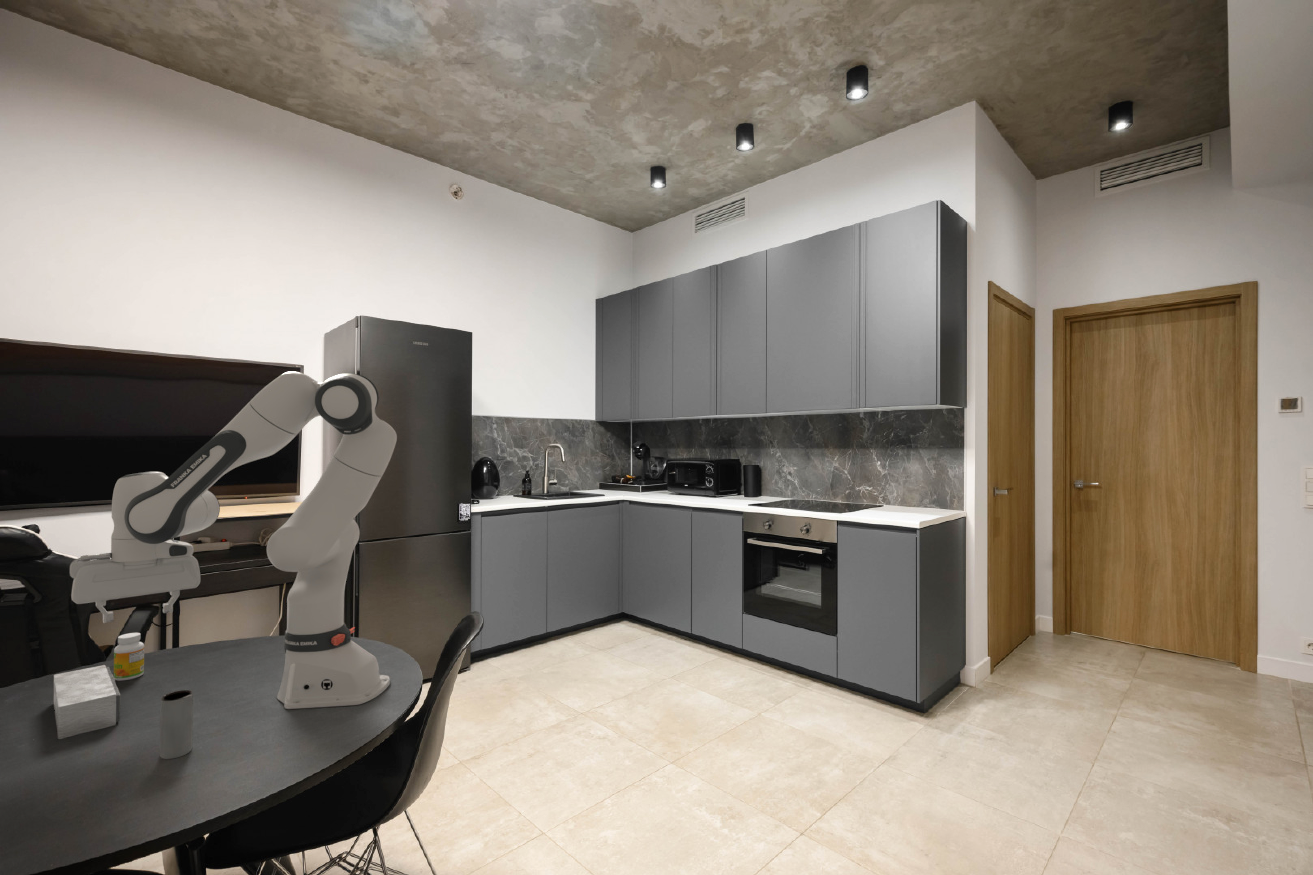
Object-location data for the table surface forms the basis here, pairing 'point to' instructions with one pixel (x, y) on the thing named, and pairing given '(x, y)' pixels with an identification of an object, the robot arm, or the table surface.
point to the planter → (176, 724)
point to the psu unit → (85, 701)
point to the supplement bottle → (128, 657)
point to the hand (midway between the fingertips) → (138, 616)
